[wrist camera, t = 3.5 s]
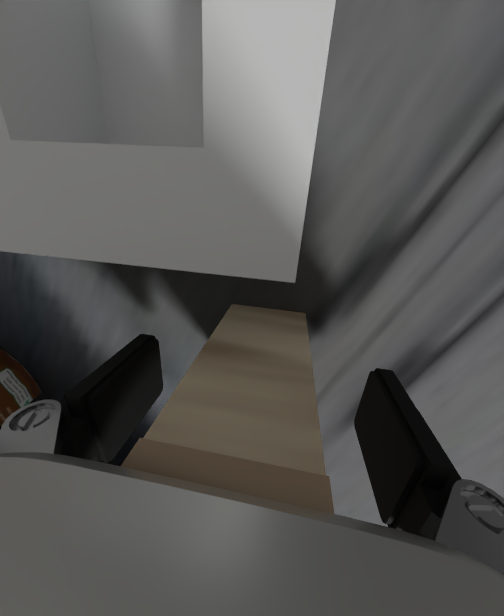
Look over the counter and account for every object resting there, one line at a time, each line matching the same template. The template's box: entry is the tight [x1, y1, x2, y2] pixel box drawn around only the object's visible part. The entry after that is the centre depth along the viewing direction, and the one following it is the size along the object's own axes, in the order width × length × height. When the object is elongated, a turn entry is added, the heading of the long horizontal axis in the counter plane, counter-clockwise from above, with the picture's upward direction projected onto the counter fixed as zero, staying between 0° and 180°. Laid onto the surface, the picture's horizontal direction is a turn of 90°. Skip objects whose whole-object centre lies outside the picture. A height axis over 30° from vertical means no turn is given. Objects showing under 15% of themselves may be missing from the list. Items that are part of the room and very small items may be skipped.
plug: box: [121, 304, 334, 514], centre depth 9 cm, size 4×4×10 cm
